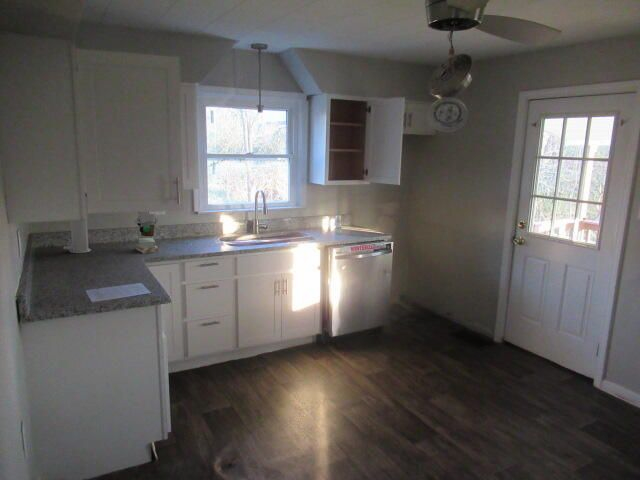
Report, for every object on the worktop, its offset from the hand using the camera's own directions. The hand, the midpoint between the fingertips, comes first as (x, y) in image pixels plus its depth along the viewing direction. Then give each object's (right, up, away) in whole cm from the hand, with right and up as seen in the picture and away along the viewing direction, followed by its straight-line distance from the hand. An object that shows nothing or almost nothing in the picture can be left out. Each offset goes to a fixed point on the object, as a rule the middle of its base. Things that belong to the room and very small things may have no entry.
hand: (146, 231), depth 318 cm
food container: (-1, -3, 0) cm, 3 cm away
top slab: (0, -9, +2) cm, 10 cm away
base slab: (0, -13, +2) cm, 14 cm away
